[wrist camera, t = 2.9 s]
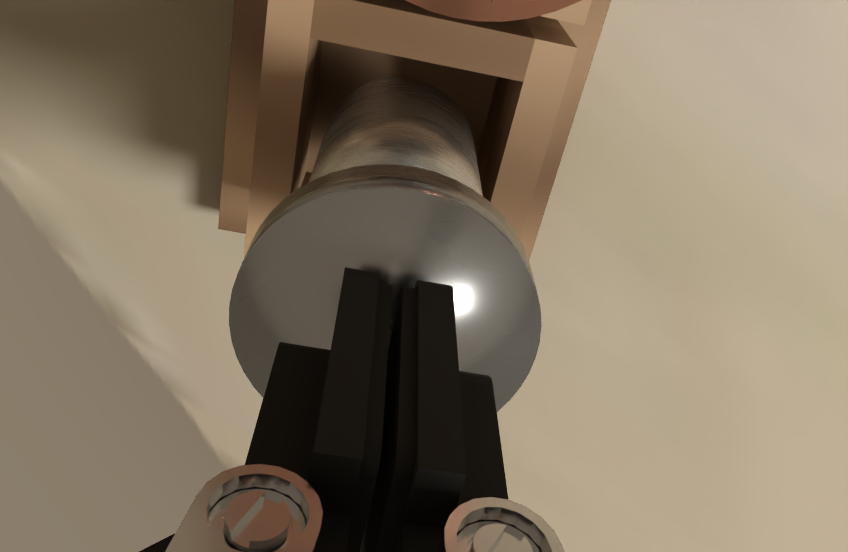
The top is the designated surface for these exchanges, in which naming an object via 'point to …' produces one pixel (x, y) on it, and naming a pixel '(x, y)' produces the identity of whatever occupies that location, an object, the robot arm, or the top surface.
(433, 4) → the plug mid
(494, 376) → the plug
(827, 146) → the top surface
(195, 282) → the top surface
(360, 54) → the socket board
